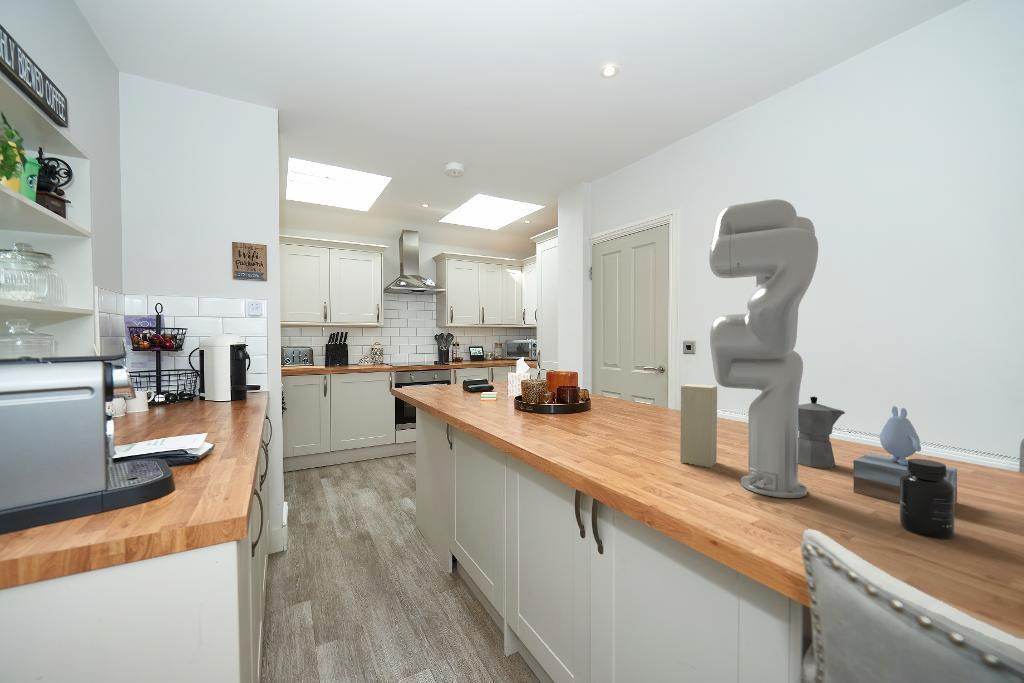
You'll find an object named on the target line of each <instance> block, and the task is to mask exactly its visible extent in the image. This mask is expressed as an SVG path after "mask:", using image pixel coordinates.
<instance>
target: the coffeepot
mask: <svg viewBox="0 0 1024 683" xmlns="http://www.w3.org/2000/svg"><path fill="white" fill-rule="evenodd" d="M809 398H810V402H809V403H803V404H799V405H798V463H799V464H798V465H801V464H802V466H804V465H806V466H805V467H808V466H811V468H814V467H821V468H820V469H832V468H831V467H833V468H835V467H836V461H835V457H834V452H833V445H832V443H831V442H832V441H831V440H830V435H832V433H833V428H834V425H835V424H836V423H837V421H838V420H839V419H840V417H841V416H842V415H844V414H846V412H845V411H844V410H841V409H838V408H833V407H830V406H827V405H823V404H820V403H817V402H818V397H816V396H811V397H809ZM834 466H835V467H834Z"/></svg>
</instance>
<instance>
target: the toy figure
mask: <svg viewBox="0 0 1024 683" xmlns="http://www.w3.org/2000/svg"><path fill="white" fill-rule="evenodd" d="M891 413H892V416H891V417H889V418H888V419H887V421H886V422H885V424H884V426H883V427H882V430H881V431H880V434H879V443H880V446H882V448H883V449H884V450H885V451H886V452H887V453H888V454H889V455H891V456H889V457H890V459H891V461H893V462H899V464H901V465H905V466H908V460H909V459H906V458H907V457H910V456H912V455H914V454H916V452H921V451H922V447H921V444H920V443H921V442H920V441H921V440H920V438H919V437H920V436H919V435H918V434H917V431H916V429H915V427H914V425H913V423H912V422H911V421H910V420H909V418H907V416H908V412H907V409H906V408H905V407H902V408H901V409H900V414H899V411H898V407H897V406H896V405H894V406H892V407H891Z"/></svg>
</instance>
